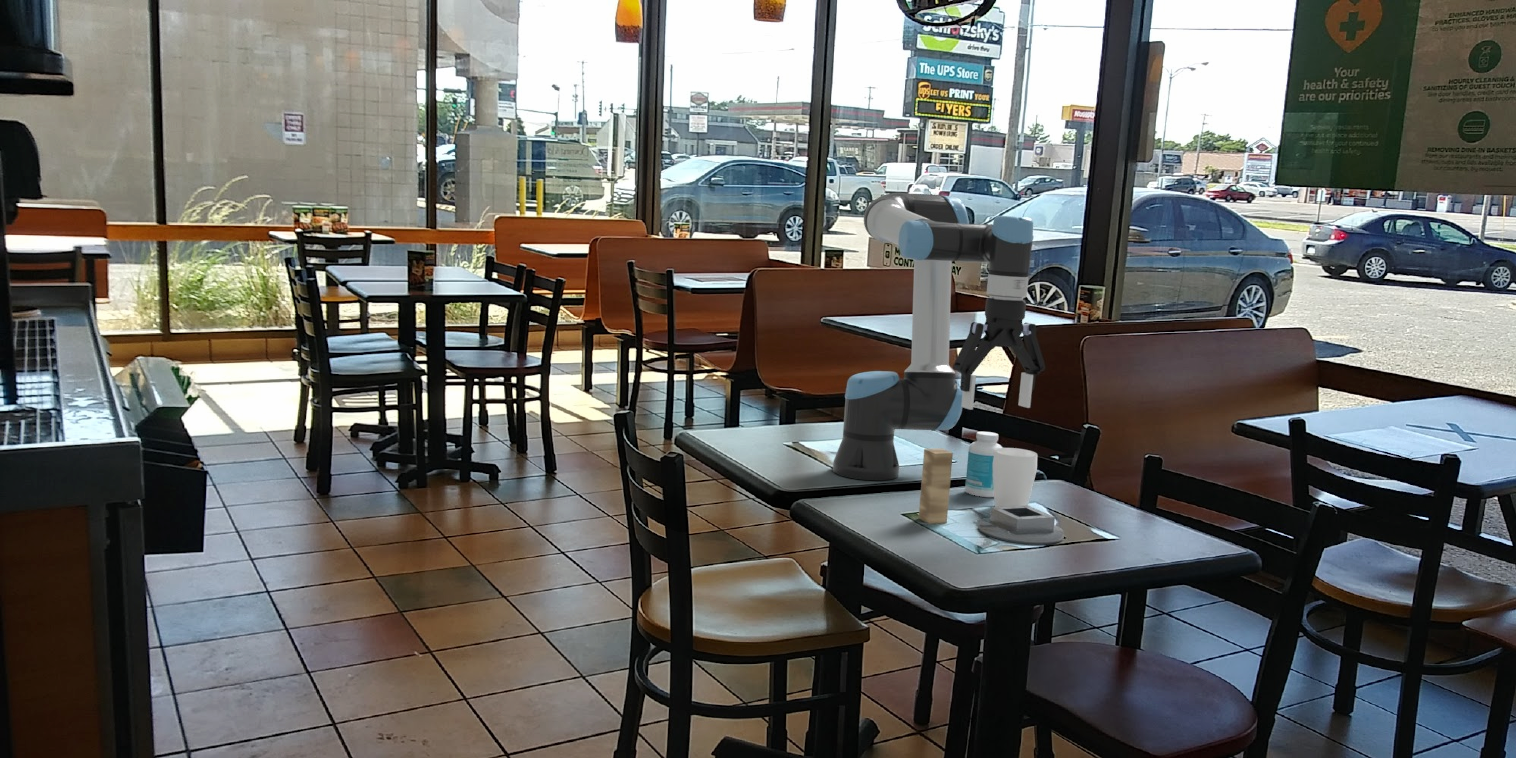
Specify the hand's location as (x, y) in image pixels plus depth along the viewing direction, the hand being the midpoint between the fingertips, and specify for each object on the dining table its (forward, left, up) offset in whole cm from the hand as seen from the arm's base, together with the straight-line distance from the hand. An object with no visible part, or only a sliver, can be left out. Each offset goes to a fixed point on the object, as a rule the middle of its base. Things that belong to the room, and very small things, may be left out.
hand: (995, 407), depth 220 cm
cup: (-10, +13, -24) cm, 28 cm away
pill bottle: (-22, +14, -24) cm, 35 cm away
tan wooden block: (-5, -9, -23) cm, 25 cm away
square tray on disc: (+6, +4, -23) cm, 25 cm away
